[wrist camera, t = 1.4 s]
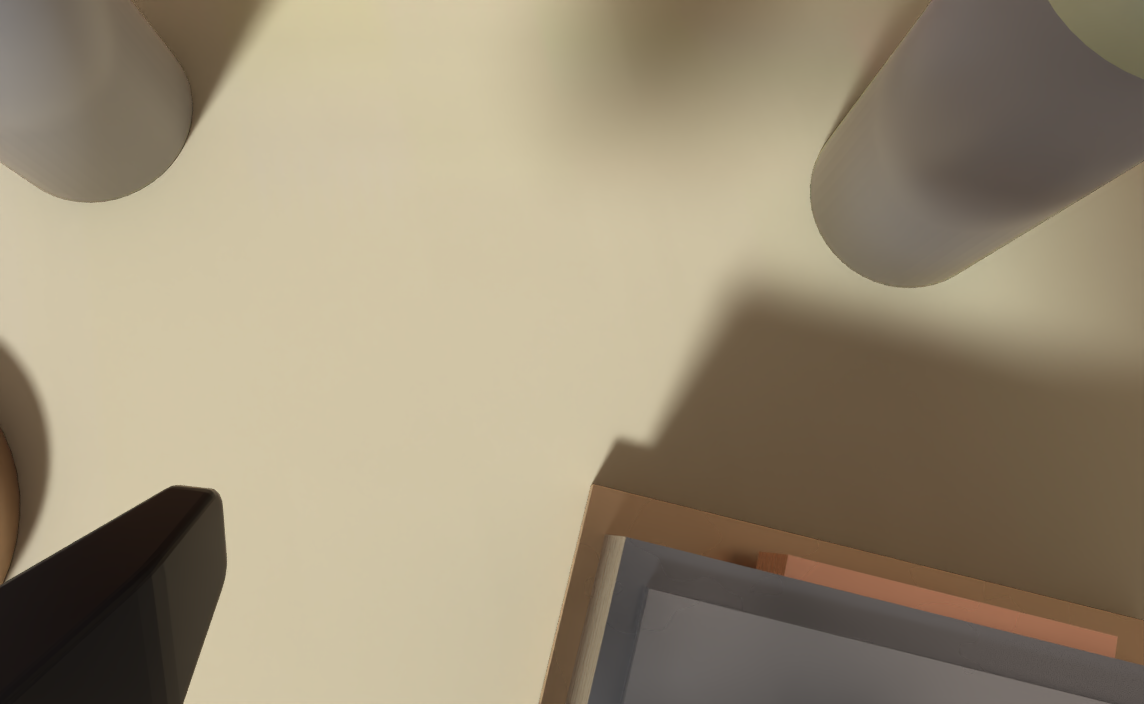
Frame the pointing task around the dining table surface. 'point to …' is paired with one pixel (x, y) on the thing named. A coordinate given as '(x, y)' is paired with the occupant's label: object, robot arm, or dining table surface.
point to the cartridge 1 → (88, 98)
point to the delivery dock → (7, 507)
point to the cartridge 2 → (981, 133)
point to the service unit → (809, 623)
